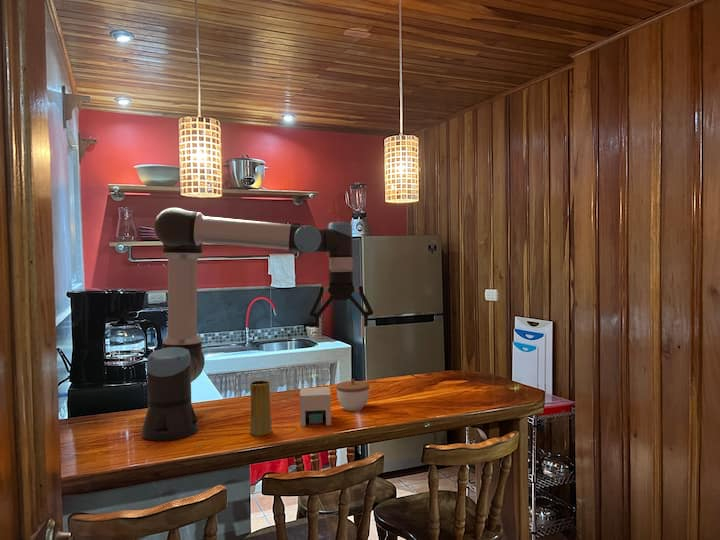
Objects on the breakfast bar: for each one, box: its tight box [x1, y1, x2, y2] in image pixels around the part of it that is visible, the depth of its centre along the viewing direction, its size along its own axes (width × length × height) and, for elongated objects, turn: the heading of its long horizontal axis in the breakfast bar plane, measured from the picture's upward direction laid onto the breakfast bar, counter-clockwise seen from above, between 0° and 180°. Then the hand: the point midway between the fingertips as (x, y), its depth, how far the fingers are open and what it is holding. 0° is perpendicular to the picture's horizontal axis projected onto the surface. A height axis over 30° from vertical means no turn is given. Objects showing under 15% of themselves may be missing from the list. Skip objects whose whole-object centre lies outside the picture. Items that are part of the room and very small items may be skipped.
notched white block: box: [299, 386, 332, 427], centre depth 155 cm, size 9×9×9 cm
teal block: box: [308, 410, 324, 425], centre depth 155 cm, size 4×4×3 cm
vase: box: [249, 379, 273, 437], centre depth 146 cm, size 6×6×14 cm
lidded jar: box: [335, 378, 370, 412], centre depth 168 cm, size 11×11×9 cm
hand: (341, 337), depth 164 cm, fingers open, 13 cm apart
